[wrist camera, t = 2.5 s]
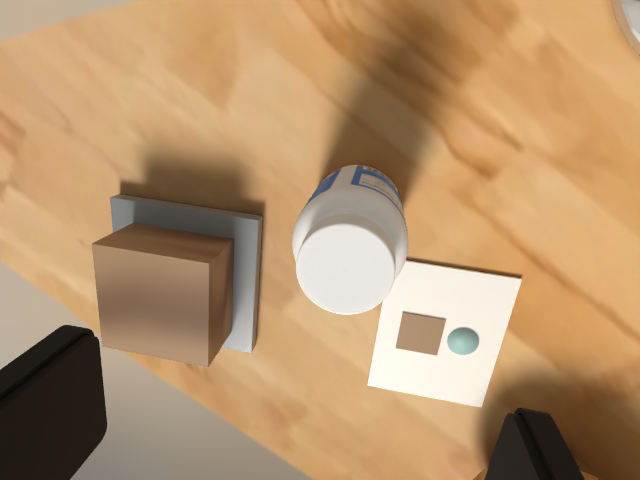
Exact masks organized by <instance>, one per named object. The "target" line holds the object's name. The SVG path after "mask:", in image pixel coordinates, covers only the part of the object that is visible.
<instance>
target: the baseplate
mask: <svg viewBox="0 0 640 480" xmlns="http://www.w3.org/2000/svg"><path fill="white" fill-rule="evenodd" d="M110 201H111V214H112V226H113V233H114V232H116V231H118V230H120V229H122V228H124V227H126V226H128V225H130V224H132V223H138V224H144V225H150V226H156V227H163V228H169V229H175V230H181V231H188V232H194V233H200V234H206V235H213V236H219V237H225V238H232V239H235V242H234V274H233V305H232V332H231V333H230V335H229V336H228V338H227V339H226V341H225V342H224V344H223V345H222V348H227V349H232V350H238V351H243V352H248V353H252V351H253V349H254V347H255V345H256V328H257V311H258V294H259V276H260V259H261V241H262V224H263V216H261V215H254V214H248V213H241V212H235V211H228V210H222V209H215V208H208V207H202V206H195V205H189V204H182V203H175V202H169V201H162V200H156V199H149V198H142V197H136V196H129V195H123V194H118V195H116V196H113V197H111V198H110Z"/></svg>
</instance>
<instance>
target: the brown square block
mask: <svg viewBox="0 0 640 480" xmlns="http://www.w3.org/2000/svg"><path fill="white" fill-rule="evenodd" d="M234 242H235V239H232V238H225V237H219V236H213V235H206V234H200V233H194V232H188V231H181V230H175V229H169V228H163V227H156V226H150V225H144V224H138V223H132V224H130V225H128V226H126V227H124V228H122V229H120V230H118V231H116V232H114V233H112V234H110V235H108V236H106V237H104V238H102V239H100V240H98V241H96V242H94V243H92V250H93V260H94V269H95V279H96V289H97V298H98V308H99V317H100V327H101V337H102V345H103V347H108V348H113V349H118V350H123V351H128V352H133V353H138V354H143V355H148V356H153V357H158V358H163V359H168V360H173V361H178V362H184V363H189V364H194V365H199V366H204V367H209V365H210V364H211V362H212V361H213V359H214V358H215V356H216V355H217V353H218V352H219V350H220V349H221V347H222V345H223V344H224V342H225V341H226V339H227V338H228V336H229V335H230V333H231V332H232V305H233V274H234Z"/></svg>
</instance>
